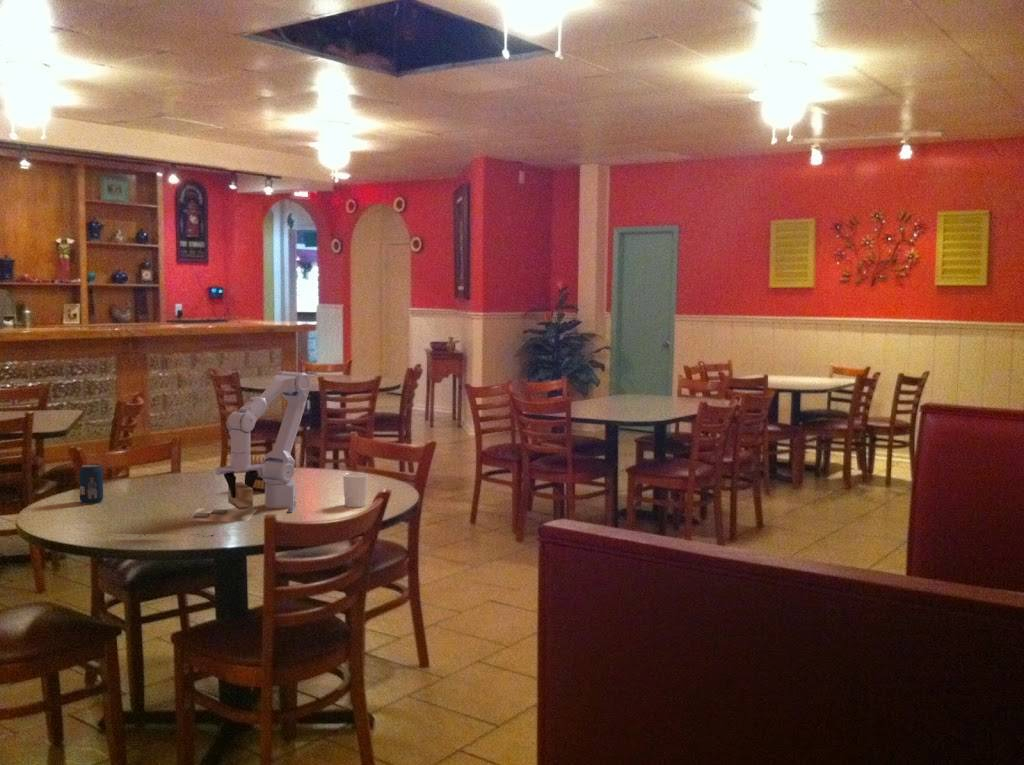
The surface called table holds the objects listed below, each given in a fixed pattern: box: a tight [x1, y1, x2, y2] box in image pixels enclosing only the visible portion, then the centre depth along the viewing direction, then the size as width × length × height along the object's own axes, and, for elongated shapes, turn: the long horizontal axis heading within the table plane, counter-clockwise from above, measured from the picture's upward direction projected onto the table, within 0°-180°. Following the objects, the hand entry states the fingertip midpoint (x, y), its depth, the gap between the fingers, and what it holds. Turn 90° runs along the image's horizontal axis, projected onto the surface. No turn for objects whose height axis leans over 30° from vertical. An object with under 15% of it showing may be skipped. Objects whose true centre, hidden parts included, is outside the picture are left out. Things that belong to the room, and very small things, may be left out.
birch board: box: [185, 508, 258, 522], centre depth 304 cm, size 18×16×2 cm
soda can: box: [78, 463, 104, 505], centre depth 323 cm, size 7×7×12 cm
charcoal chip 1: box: [194, 513, 210, 518], centre depth 301 cm, size 4×4×1 cm
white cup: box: [342, 472, 369, 508], centre depth 326 cm, size 8×8×10 cm
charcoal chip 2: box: [211, 508, 228, 514], centre depth 306 cm, size 4×4×1 cm
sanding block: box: [227, 481, 254, 510], centre depth 304 cm, size 4×12×6 cm, turn 31°
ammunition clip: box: [244, 455, 265, 494], centre depth 345 cm, size 11×2×12 cm, turn 60°
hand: (240, 496), depth 303 cm, fingers closed on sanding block, 4 cm apart
